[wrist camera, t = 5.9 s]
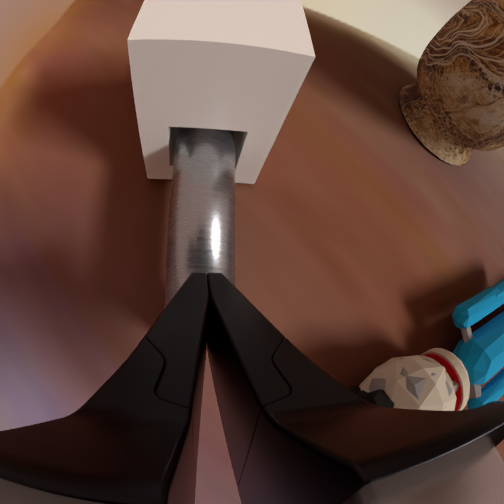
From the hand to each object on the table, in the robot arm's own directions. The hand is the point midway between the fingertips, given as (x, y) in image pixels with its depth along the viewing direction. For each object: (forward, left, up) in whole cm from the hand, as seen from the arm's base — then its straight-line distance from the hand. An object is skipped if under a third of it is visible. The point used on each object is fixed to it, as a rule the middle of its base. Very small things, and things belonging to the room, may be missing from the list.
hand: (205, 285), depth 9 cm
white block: (+7, +5, -7) cm, 12 cm away
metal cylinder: (+5, +4, -7) cm, 10 cm away
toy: (+10, -19, -8) cm, 23 cm away
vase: (+25, -7, -8) cm, 27 cm away
